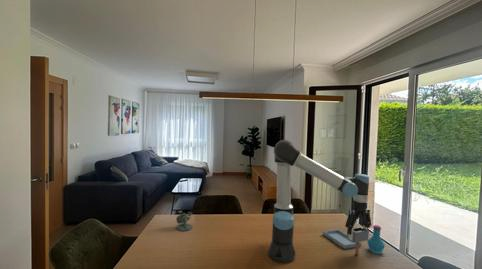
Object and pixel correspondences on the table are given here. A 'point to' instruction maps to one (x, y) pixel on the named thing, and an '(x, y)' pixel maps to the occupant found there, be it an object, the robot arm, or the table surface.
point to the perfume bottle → (376, 241)
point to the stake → (357, 248)
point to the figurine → (182, 219)
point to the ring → (359, 234)
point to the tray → (340, 238)
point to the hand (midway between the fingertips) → (357, 238)
